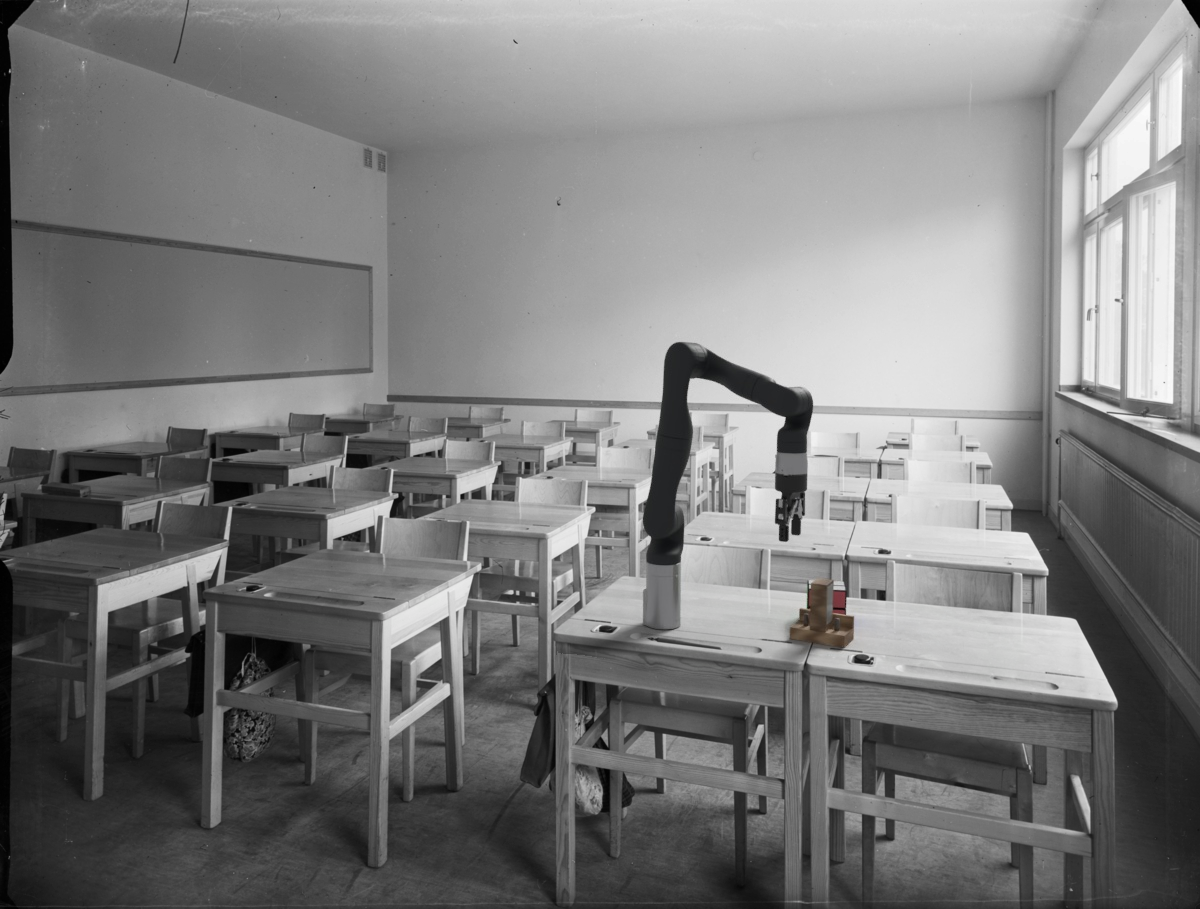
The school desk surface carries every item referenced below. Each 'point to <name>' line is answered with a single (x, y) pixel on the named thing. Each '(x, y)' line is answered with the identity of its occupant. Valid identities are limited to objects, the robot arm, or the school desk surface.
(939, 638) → the school desk surface
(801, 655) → the school desk surface
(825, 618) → the wooden blocks
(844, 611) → the puzzle cube
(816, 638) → the wooden peg holder
